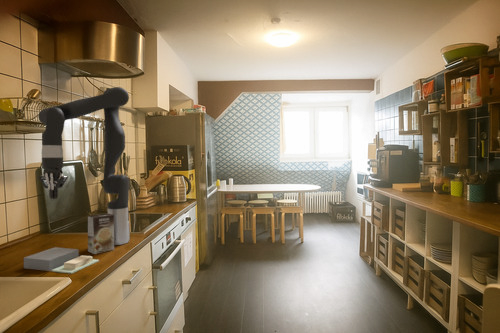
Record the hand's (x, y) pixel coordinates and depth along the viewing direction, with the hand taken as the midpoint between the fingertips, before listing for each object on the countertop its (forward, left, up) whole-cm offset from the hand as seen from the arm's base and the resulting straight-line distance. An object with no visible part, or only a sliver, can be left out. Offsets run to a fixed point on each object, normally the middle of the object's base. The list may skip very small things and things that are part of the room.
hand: (53, 198), depth 130 cm
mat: (+5, +16, -25) cm, 30 cm away
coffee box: (-14, +11, -25) cm, 31 cm away
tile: (+5, +16, -22) cm, 28 cm away
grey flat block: (+5, +4, -25) cm, 26 cm away
